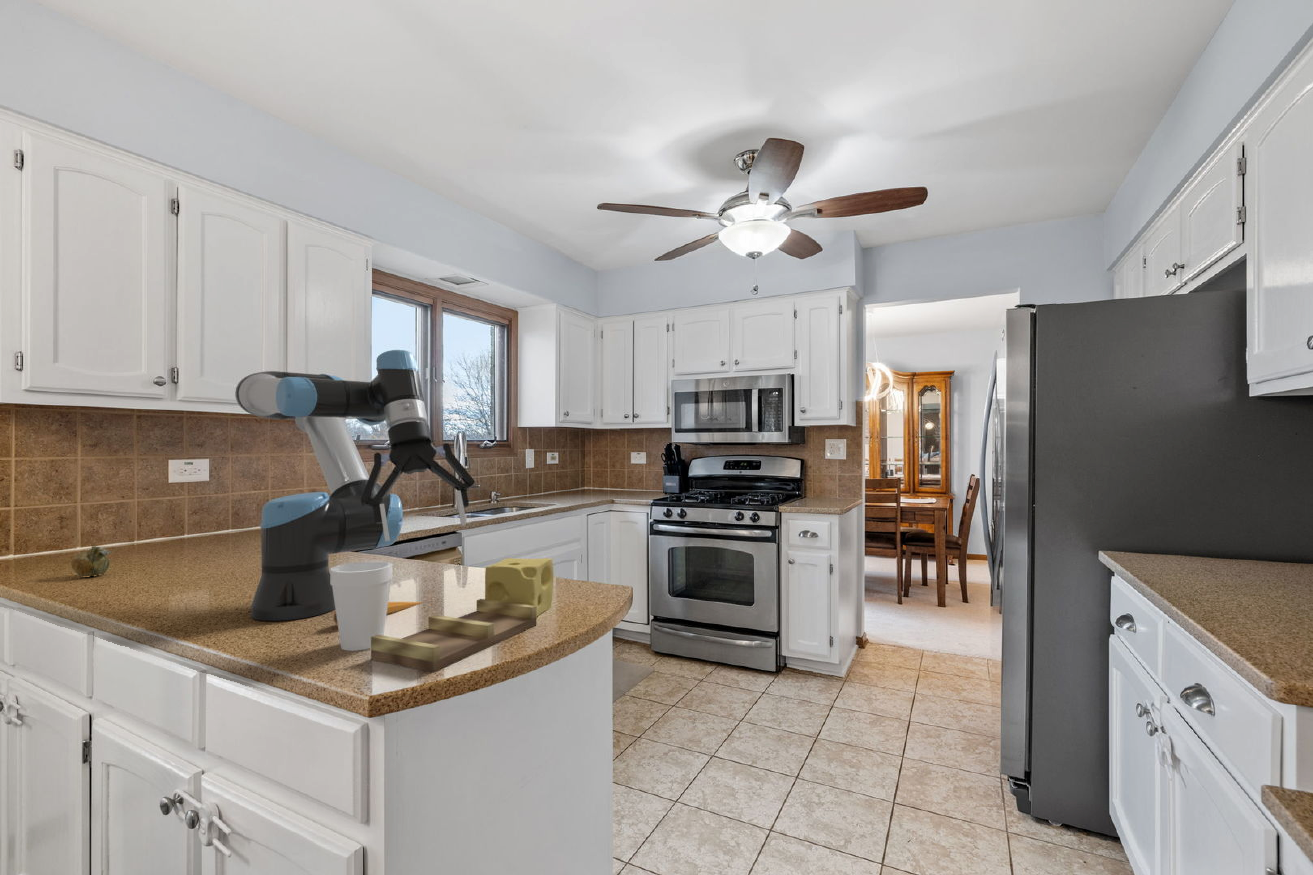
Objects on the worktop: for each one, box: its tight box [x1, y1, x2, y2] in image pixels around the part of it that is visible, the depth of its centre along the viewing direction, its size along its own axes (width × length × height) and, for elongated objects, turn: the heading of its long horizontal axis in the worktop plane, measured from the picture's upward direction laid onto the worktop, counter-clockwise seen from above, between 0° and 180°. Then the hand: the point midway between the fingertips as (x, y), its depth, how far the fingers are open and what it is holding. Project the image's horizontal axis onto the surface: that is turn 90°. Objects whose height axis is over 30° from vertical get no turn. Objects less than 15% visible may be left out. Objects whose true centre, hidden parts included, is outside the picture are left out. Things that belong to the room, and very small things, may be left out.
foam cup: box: [329, 560, 394, 652], centre depth 102 cm, size 10×9×13 cm
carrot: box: [333, 601, 423, 628], centre depth 119 cm, size 20×4×4 cm, turn 155°
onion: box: [71, 545, 111, 577], centre depth 156 cm, size 8×8×8 cm
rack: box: [370, 598, 537, 673], centre depth 103 cm, size 13×25×4 cm, turn 155°
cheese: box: [484, 557, 555, 619], centre depth 121 cm, size 10×11×10 cm
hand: (426, 532), depth 114 cm, fingers open, 13 cm apart
